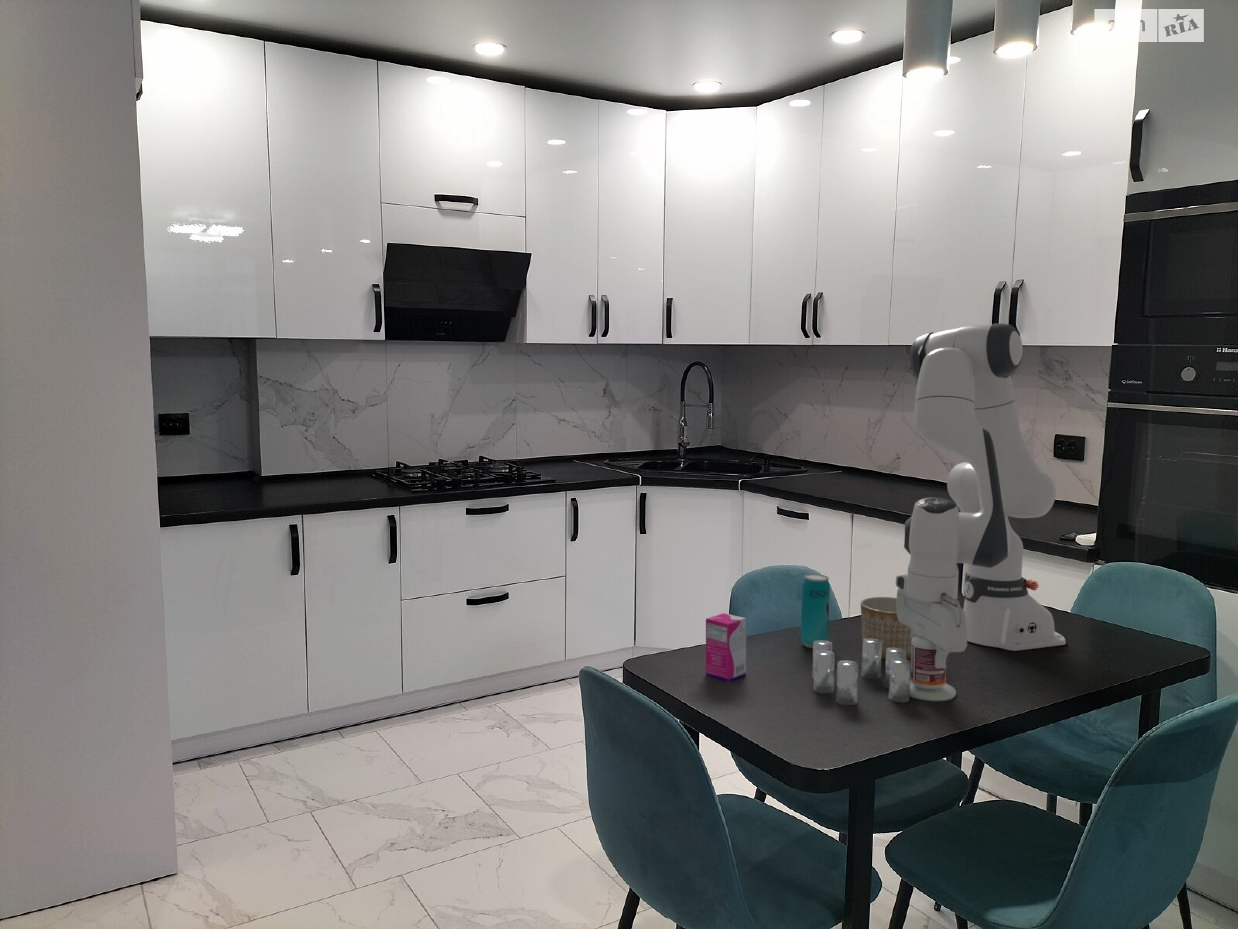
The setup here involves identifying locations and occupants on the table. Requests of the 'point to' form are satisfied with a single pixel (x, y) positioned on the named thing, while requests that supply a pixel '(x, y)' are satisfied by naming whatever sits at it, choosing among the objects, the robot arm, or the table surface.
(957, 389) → the robot arm
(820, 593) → the beverage can
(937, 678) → the pill bottle
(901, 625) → the planter
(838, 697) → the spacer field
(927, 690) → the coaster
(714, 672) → the supplement box
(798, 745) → the table surface
